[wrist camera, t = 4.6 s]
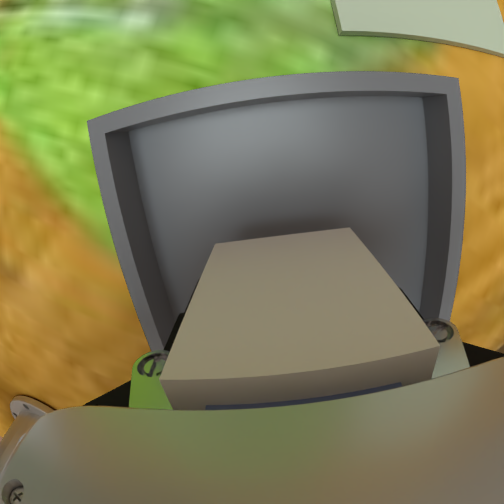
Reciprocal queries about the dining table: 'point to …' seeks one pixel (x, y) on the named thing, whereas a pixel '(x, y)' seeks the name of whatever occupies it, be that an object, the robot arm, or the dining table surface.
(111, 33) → the dining table surface
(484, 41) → the mat
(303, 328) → the labelled box
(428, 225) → the bin
